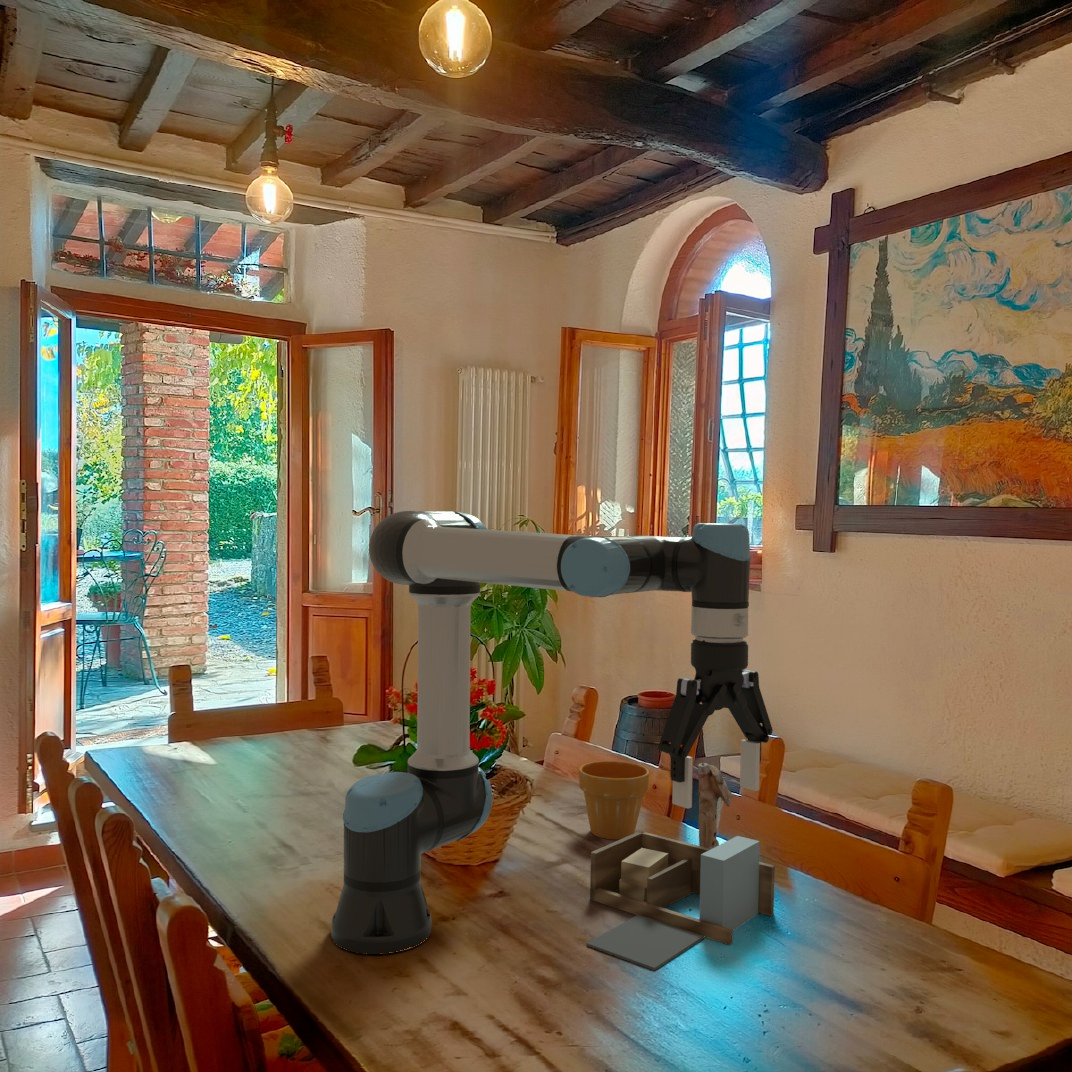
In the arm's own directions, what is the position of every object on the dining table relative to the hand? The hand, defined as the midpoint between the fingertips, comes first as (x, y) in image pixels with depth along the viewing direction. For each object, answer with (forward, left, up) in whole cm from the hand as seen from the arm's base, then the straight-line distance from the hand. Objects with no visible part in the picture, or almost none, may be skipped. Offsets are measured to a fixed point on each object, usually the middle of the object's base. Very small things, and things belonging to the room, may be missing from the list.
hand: (716, 797), depth 130 cm
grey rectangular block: (-10, +23, -27) cm, 37 cm away
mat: (-16, +8, -27) cm, 32 cm away
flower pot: (-49, +47, -27) cm, 73 cm away
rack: (-19, +23, -27) cm, 40 cm away
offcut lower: (-26, +23, -27) cm, 44 cm away
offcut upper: (-26, +23, -24) cm, 42 cm away
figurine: (-22, +42, -27) cm, 54 cm away
